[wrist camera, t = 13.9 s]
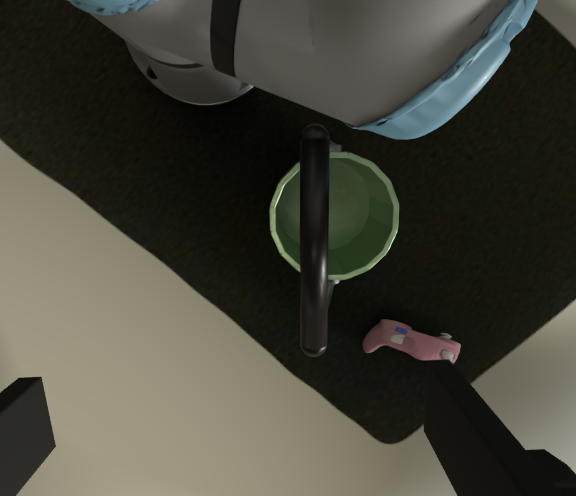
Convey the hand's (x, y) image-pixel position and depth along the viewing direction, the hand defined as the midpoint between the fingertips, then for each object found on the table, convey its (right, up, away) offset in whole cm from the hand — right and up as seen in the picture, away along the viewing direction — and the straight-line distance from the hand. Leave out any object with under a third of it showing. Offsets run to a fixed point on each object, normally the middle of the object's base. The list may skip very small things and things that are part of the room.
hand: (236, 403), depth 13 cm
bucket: (+6, +10, +29) cm, 31 cm away
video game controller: (+16, -5, +33) cm, 37 cm away
